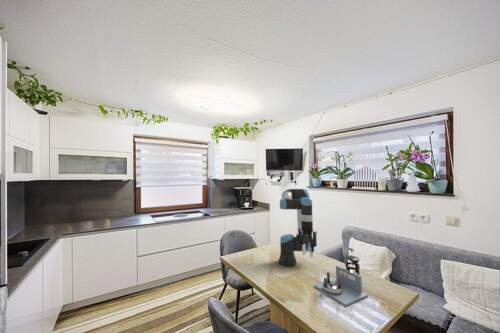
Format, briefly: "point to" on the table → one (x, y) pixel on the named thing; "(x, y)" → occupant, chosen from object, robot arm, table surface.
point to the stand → (346, 287)
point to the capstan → (332, 286)
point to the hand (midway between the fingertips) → (307, 255)
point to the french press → (353, 263)
